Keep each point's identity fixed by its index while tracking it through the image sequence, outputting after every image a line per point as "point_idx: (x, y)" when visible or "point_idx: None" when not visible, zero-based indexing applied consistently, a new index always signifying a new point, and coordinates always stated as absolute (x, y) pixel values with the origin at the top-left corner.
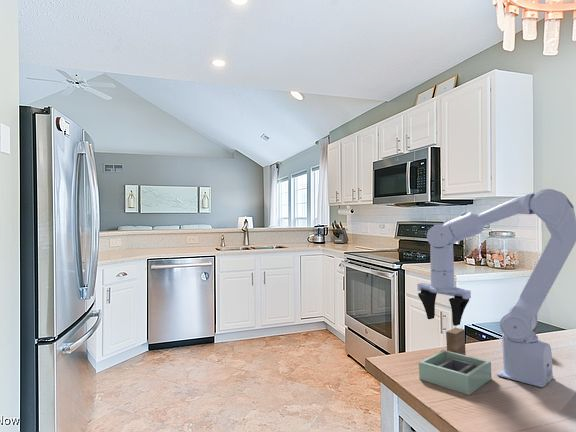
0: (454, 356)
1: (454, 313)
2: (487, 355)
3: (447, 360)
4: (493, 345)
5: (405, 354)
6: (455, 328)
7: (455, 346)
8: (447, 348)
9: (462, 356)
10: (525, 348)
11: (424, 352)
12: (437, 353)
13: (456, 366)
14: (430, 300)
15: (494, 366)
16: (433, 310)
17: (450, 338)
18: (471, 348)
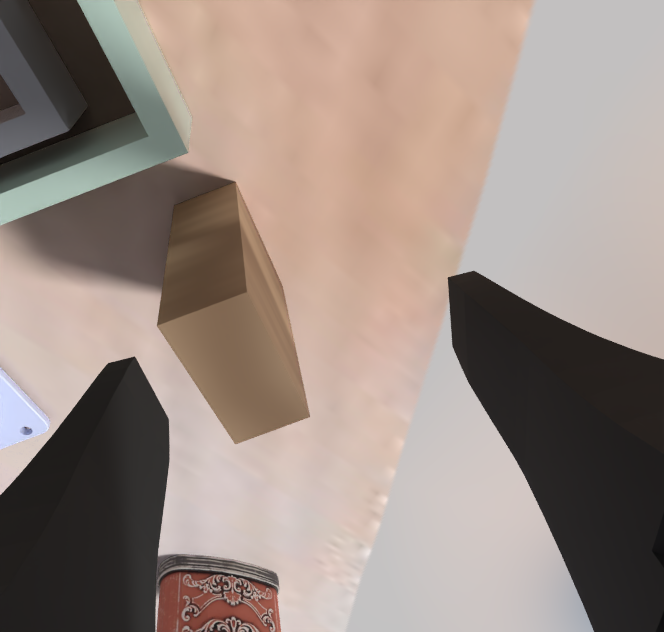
0: (70, 160)
1: (37, 470)
2: None
3: (135, 123)
4: (329, 511)
5: (502, 8)
6: (291, 406)
7: (171, 263)
8: (234, 223)
9: (3, 192)
10: None
11: (448, 168)
12: (114, 28)
13: (17, 109)
14: (572, 483)
15: (83, 367)
16: (490, 402)
17: (206, 276)
18: (349, 423)
